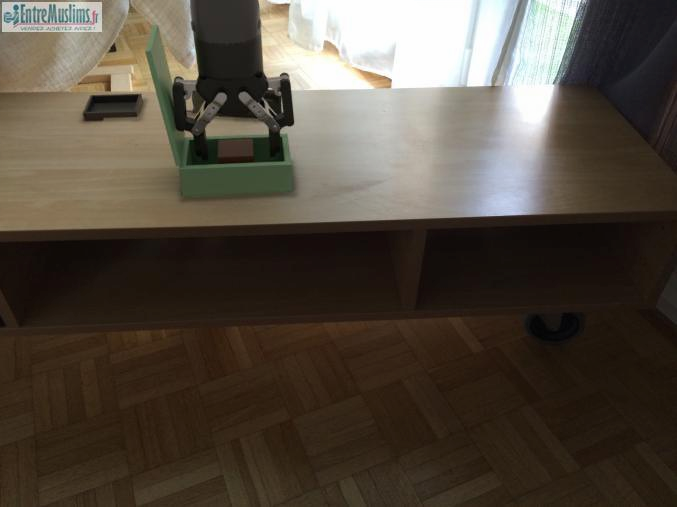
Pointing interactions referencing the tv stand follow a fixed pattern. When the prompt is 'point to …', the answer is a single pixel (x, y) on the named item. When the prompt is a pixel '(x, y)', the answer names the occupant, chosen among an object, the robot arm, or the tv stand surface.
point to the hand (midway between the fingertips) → (239, 156)
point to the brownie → (235, 151)
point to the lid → (164, 91)
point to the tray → (112, 106)
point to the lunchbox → (236, 169)
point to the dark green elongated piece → (269, 97)
